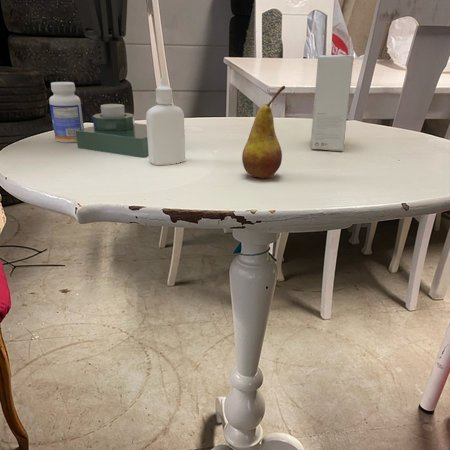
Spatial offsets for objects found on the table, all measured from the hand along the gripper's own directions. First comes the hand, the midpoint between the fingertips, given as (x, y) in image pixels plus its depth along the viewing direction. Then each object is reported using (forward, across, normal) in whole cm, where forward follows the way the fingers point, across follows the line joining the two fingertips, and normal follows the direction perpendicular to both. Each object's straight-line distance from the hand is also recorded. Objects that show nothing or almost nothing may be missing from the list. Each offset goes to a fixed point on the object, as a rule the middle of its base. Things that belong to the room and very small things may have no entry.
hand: (110, 85), depth 79 cm
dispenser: (+10, 0, -3) cm, 10 cm away
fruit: (+10, -6, -31) cm, 33 cm away
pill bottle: (+10, -1, +10) cm, 14 cm away
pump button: (+5, 0, 0) cm, 5 cm away
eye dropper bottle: (+10, -6, -15) cm, 19 cm away
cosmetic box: (+10, +19, -33) cm, 39 cm away
